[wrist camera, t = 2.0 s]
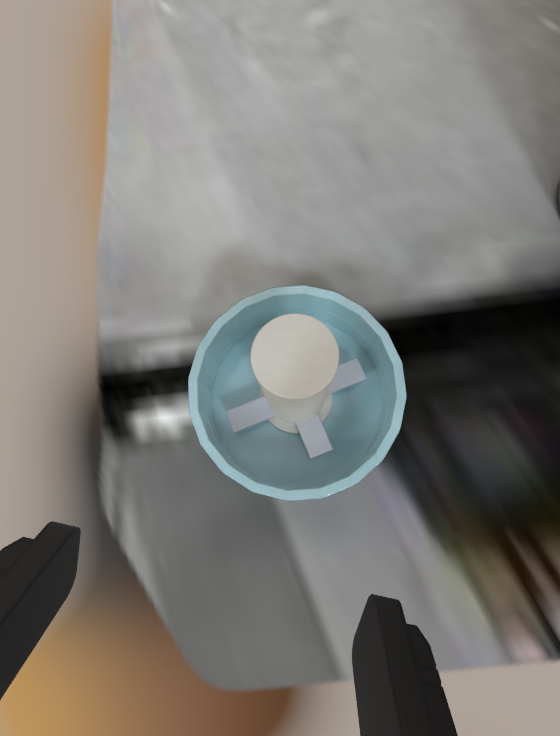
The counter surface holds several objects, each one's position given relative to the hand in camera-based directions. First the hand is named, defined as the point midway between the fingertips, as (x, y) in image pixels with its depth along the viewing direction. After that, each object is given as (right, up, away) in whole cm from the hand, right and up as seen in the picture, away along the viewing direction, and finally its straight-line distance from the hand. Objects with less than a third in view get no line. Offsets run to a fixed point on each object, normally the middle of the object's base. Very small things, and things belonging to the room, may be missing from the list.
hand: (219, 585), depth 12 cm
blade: (+3, +4, +20) cm, 21 cm away
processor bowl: (+3, +3, +21) cm, 22 cm away
